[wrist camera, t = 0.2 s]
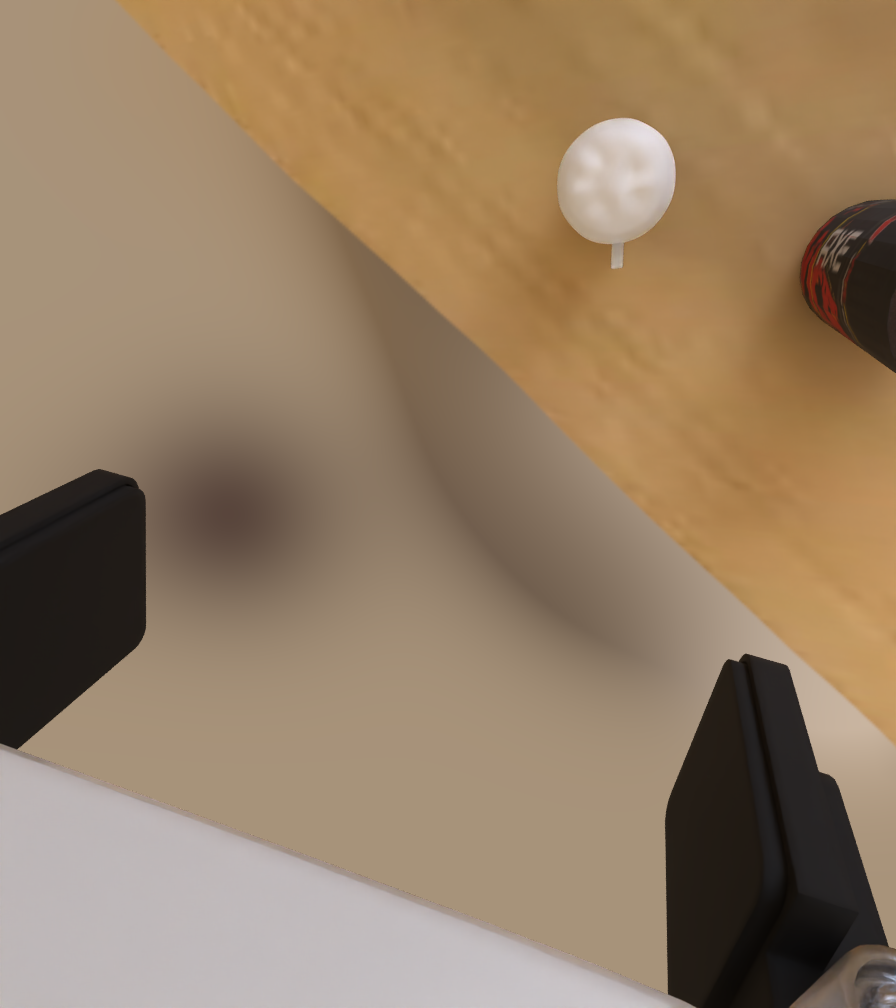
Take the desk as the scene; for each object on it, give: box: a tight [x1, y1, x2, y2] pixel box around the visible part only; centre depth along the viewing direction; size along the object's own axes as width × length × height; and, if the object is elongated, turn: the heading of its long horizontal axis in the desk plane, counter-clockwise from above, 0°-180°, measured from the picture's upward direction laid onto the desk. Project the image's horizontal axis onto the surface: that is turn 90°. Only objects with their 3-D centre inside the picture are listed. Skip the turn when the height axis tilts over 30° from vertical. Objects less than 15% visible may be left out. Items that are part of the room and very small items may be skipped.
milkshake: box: [557, 118, 676, 269], centre depth 32 cm, size 5×5×10 cm
